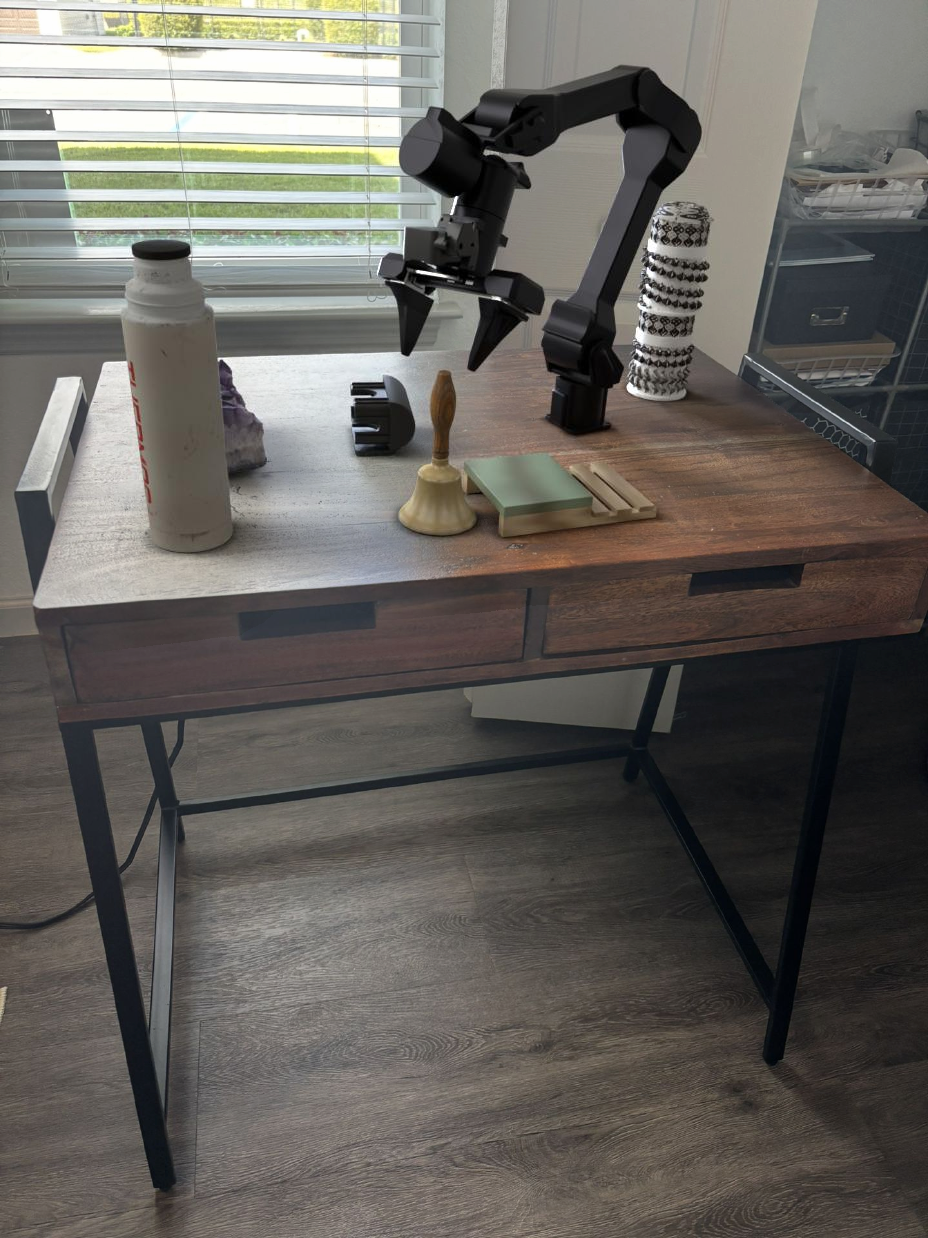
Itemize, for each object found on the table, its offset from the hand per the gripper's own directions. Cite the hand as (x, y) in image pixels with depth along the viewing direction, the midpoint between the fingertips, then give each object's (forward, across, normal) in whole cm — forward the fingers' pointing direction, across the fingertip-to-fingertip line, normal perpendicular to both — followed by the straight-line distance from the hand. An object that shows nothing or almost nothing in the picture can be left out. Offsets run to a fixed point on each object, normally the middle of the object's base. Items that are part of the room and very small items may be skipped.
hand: (437, 362), depth 107 cm
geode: (+17, -24, -6) cm, 30 cm away
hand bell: (+16, +6, 0) cm, 17 cm away
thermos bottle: (+24, -10, -18) cm, 32 cm away
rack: (+10, +14, +12) cm, 21 cm away
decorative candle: (-8, +2, +47) cm, 48 cm away
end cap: (+10, -13, +10) cm, 19 cm away
